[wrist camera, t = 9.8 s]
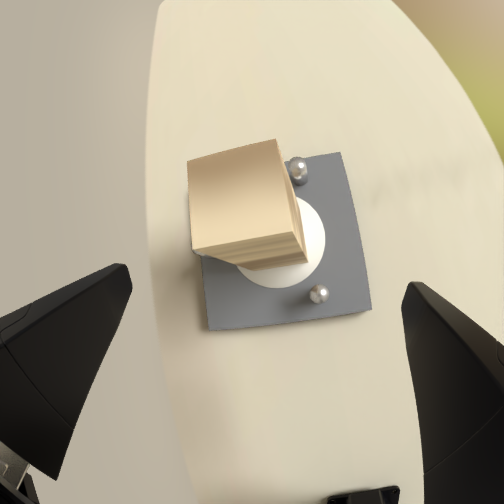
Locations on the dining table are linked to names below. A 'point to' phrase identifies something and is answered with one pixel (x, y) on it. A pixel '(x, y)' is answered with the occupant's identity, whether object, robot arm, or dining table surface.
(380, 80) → the dining table surface
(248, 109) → the dining table surface
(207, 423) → the dining table surface
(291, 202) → the maple block
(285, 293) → the plate
